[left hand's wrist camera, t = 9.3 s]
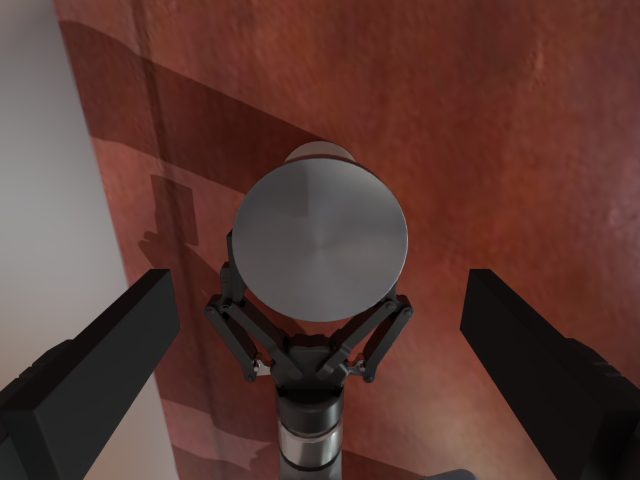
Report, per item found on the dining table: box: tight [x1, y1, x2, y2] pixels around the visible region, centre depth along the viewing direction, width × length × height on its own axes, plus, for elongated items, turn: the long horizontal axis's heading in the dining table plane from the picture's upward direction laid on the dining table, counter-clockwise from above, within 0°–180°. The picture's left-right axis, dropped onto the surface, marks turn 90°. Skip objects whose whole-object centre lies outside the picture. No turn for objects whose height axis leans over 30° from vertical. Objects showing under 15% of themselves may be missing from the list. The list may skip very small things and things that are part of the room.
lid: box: [232, 154, 408, 322], centre depth 19 cm, size 10×10×2 cm
